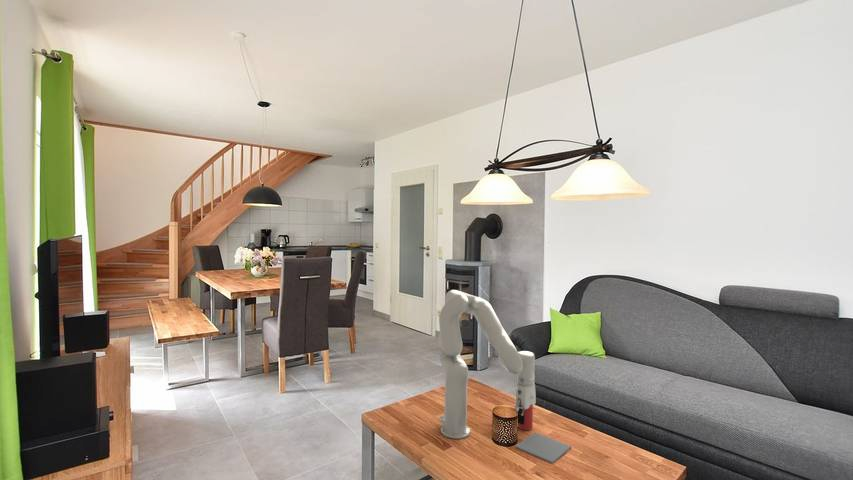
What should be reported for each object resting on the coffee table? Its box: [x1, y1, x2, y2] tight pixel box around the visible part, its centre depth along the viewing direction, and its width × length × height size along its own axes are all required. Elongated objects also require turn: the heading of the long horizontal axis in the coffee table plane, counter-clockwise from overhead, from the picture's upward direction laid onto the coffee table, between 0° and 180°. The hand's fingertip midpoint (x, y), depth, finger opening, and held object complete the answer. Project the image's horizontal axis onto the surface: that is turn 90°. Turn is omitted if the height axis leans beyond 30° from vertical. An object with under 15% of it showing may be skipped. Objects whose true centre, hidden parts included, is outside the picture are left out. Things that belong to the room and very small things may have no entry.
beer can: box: [517, 404, 534, 431], centre depth 177 cm, size 7×7×12 cm
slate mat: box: [514, 432, 572, 464], centre depth 160 cm, size 16×16×1 cm
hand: (524, 420), depth 177 cm, fingers closed on beer can, 6 cm apart
